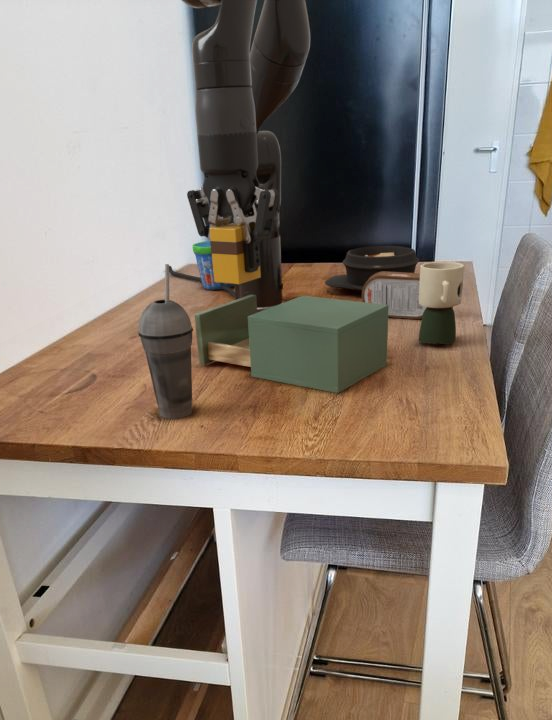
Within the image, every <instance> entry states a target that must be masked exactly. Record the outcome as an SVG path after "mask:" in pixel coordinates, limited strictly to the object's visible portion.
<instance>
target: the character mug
mask: <svg viewBox="0 0 552 720" xmlns="http://www.w3.org/2000/svg"><path fill="white" fill-rule="evenodd" d="M419 273H420V283H419V304H420V305H422V306H424V307H427V308H426V309H425V310H424V312H423V316H422V319H421V321H420V326H419V333H418V341H419V343H420V342H421V343H424V344H436V346H439V347H440V346H441V344H443V345H450V344H453V343H455V342H456V341H457V327H456V325H457V324H456V313H455V310H454V307H456V306H459V305H460V304H461V303H462V299H463V287H464V276H465V275H464V273H465V264H464V263H462V262H458V261H457V262H456V261H431V262H425V263H422V264H420V269H419Z"/></svg>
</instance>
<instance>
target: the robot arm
mask: <svg viewBox="0 0 552 720" xmlns="http://www.w3.org/2000/svg"><path fill="white" fill-rule="evenodd" d="M181 1H182V2H183V4H185V5H187V6H189V7H191V8H193V9H206V8H212V7H213V8H214V7H219V9H218V13H217V17H216V20H215V23H214V24H213V25H211V27H209V28H208V29H205V30H203V31H202V32H199V33H198V34H196V35H195V37H194V38H193V40H192V43H191V57H192V68H193V78H194V79H193V80H194V81H193V82H194V90H195V103H194V105H195V106H194V107H195V108H194V109H195V112H194V113H195V123H196V133H197V134H196V135H197V146H198V156H199V157H198V158H199V166H200V168H199V169H200V171H201V172H202V173H203V175H204V180H203V182H202V186H201V187H200V188H198V189H197V188H196V189H191V190H188V191H187V193H186V196H187V200H188V203H189V207H190V211H191V214H192V218H193V221H194V223H195V227H196V230H197V233H198V236H199V237H205V238H207V239H208V241H211V238H210V228H213V227H218V226H222V225H227V224H230V222H231V221H232V218H233V223H236V225H237V226H238V227H240V228H241V230H242V237H243V240H244V242H245V243H246V244H243V247H244V265H245V271H246V272H249V273H252V272H255V271H257V270H258V267H260V272H261V277H260V278H257V279H254V280H251V281H248V282H245V283H242V284H234V290H233V288H232V287H230V288H229V287H227V286H225V285H223V286H222V289H221V290H224V292H227V293H228V294H230V295H231V296H232V298H234V299H235V300H237V299H240V298H243V297H246V296H248V295H256V301H257V313H258V312H261V311H263V310H266V309H269V308H271V307H274V306H277V305H279V304H282V303H284V299H283V298H284V297H283V289H284V284H283V273H282V249H281V248H282V247H281V229H280V224H281V223H280V210H281V206H282V205H281V202H282V156H281V155H282V154H281V146H280V144H279V140H278V138H277V136H276V134H275V133H274V132H272V131H270V130H261V128H262V126H264V124H265V122H267V120H268V119H269V118H270V117H271V116H272V115H273V114H274V113H275V112H276V111H278V109H279V108H280V107H281V106H282V105H283V104H284V103H285V102H286V100H287V99H288V98H289V97H290V96H291V95H292V94H293V92H294V91H295V89H296V87H298V84H299V82H300V80H301V76H302V74H303V70H304V68H305V65H306V63H307V62H306V61H307V58H308V57H309V52H310V48H311V29H310V22H309V15H308V9H307V8H308V7H307V2H306V0H264V1H263V5H262V9H261V11H260V12H261V13H260V15H259V19H258V23H257V27H256V30H255V33H254V37H253V29H254V21H255V15H256V8H257V4H258V0H181ZM252 37H253V41H252ZM251 43H252V44H251ZM209 203H210V204H209ZM249 226H250V228H249ZM250 230H251V231H250ZM169 275H172V276H175V277H179V278H183V279H186V280H191V281H196V282H199V283H202V281H201V277H199V276H196V275H195V276H194V275H191V274H186V273H182V272H177V271H174V270H173V267H172V265H169Z"/></svg>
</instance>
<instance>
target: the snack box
mask: <svg viewBox="0 0 552 720" xmlns="http://www.w3.org/2000/svg"><path fill="white" fill-rule="evenodd" d="M249 228H250V226H249ZM250 231H251V230H250ZM210 238H211V241H210V240H209V241H210V245H211V253H212V260H213V271H214V282H219V283H230V284H234V285H235V284H242V283H245V282H248V281H251V280H254V279H257V278H260V277H261V272H260V267H258V270H257V271H255V272H252V273H249V272H246V271H245V265H244V247H243V244H246V243H245V242H244V240H243V237H242V230H241V228H240V227H238V226H237V225H236V223H234V222H232V223H228V224H227V225H222V226H218V227H213V228H210Z"/></svg>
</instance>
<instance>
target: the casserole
mask: <svg viewBox="0 0 552 720" xmlns="http://www.w3.org/2000/svg"><path fill="white" fill-rule="evenodd" d="M419 262H420V259H419V258H418V257H417V253H416V250H415V249H414V248H411V247H408V246H400V245H370V246H361V247H357V248H354V249H350V250H348V251H347V252H346V255H345V258H344V259H343V260H342V264H343V265H344V268H345V272H346V274H339V275H334V276H331V277H329V278H327V279H326V280H325V282H324V284H325V285H326V286H328V287H329V288H335V289H347V290H352V291H354V292H356V293H360V294H362V289H363V287H364V285H365V283H366V282H367V281H368V279H369V278H370V277H371V276H372V275H374V274H375V273H378V272H383V271H385V272H403V273H416V266H417V264H418V263H419Z"/></svg>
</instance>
